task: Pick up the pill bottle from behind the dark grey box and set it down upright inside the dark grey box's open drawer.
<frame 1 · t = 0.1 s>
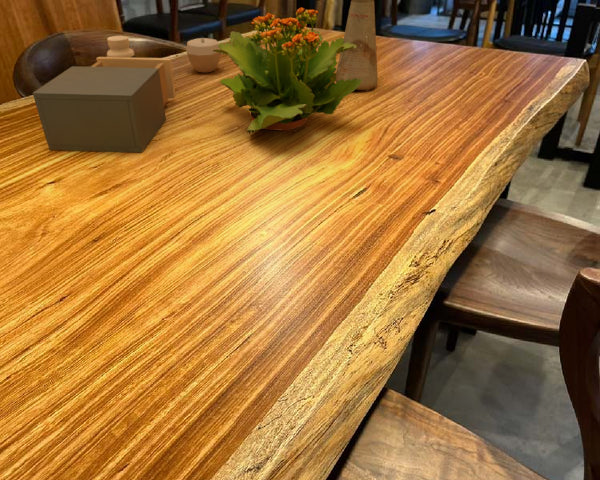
drawer: (130, 84, 96), point 4 cm above the table, slide at 9.0 cm
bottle: (355, 87, 110), on the table
lidded pot: (205, 71, 119), on the table
dark grey box: (111, 134, 88), on the table
potted flower: (279, 120, 94), on the table
pill bottle: (126, 86, 110), on the table
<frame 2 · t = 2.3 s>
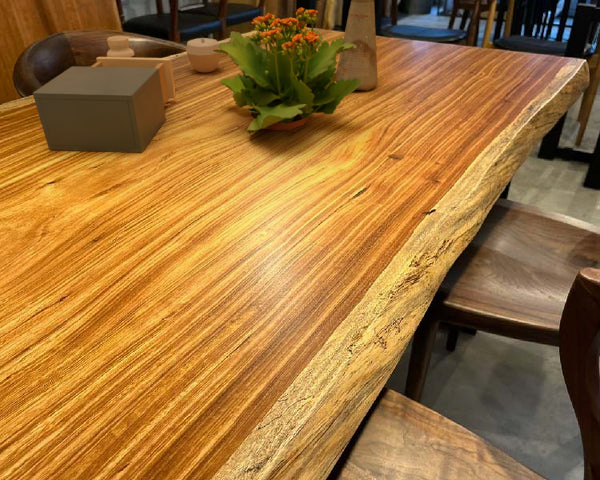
nothing on the table moved.
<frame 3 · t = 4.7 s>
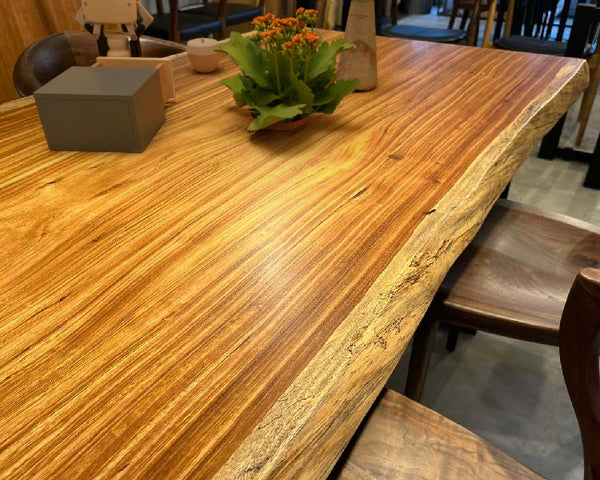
hand: (121, 59, 107), 5 cm above the table, tool pointing down, fingers closed on pill bottle, 5 cm apart
pill bottle: (126, 86, 110), on the table, touching gripper
everything else where it was.
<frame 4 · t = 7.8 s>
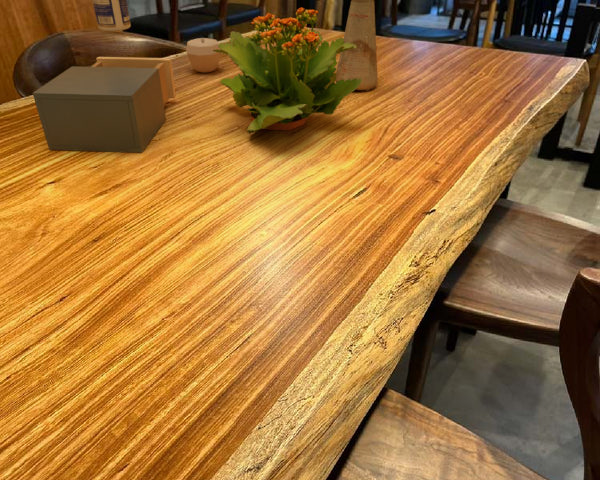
pill bottle: (114, 29, 90), point 13 cm above the table, touching gripper
everything else where it was.
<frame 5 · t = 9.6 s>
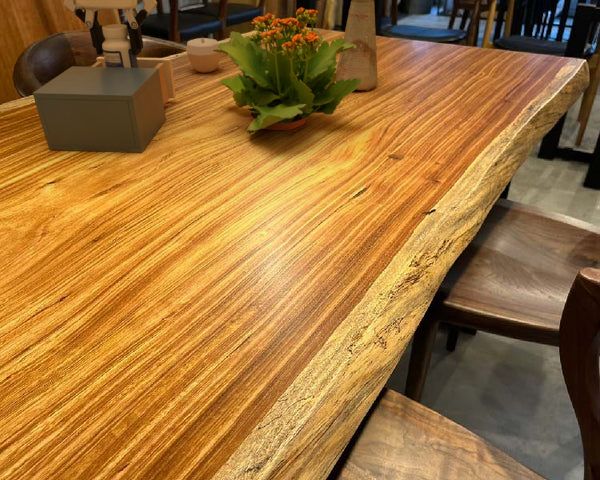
hand: (119, 51, 90), 10 cm above the table, tool pointing down, fingers closed on pill bottle, 5 cm apart
pill bottle: (125, 83, 93), point 5 cm above the table, touching gripper
everything else where it was.
when the fingers open (7 cm above the table, at t = 10.9 s): pill bottle stays where it is, resting on drawer.
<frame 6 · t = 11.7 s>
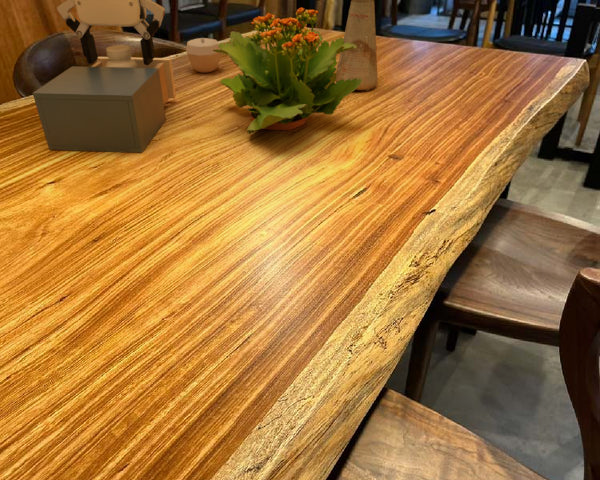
hand: (120, 62, 91), 9 cm above the table, tool pointing down, fingers open, 9 cm apart
drawer: (130, 84, 96), point 4 cm above the table, slide at 9.1 cm, touching pill bottle
pill bottle: (128, 102, 95), point 2 cm above the table, touching drawer
everything else where it was.
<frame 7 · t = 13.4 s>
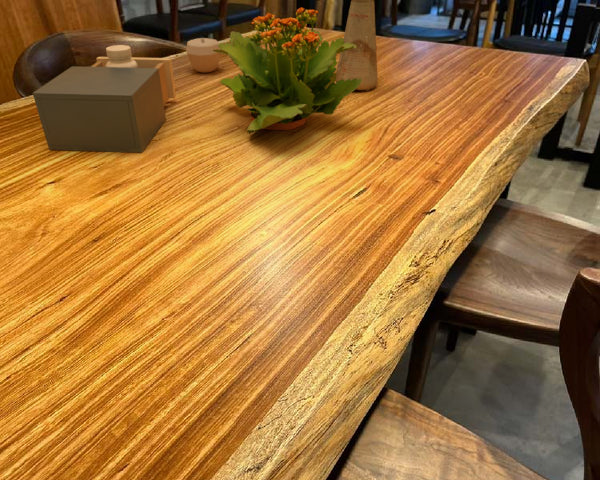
nothing on the table moved.
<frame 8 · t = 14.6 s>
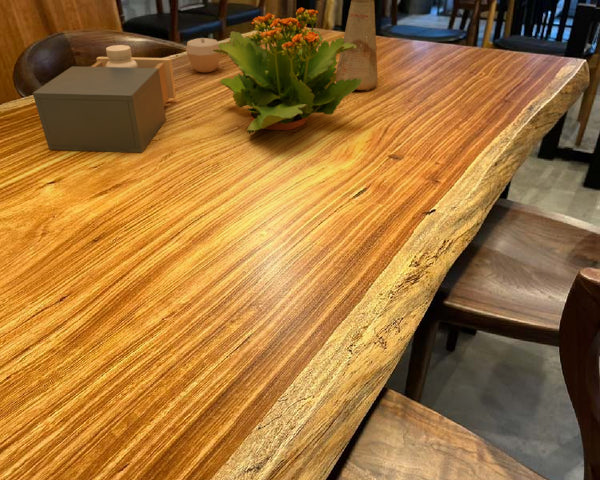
nothing on the table moved.
at the end: drawer slide at 9.1 cm; pill bottle inside the target area in the drawer (0.5 cm from its centre), point 1.8 cm above the dark grey box's base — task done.
